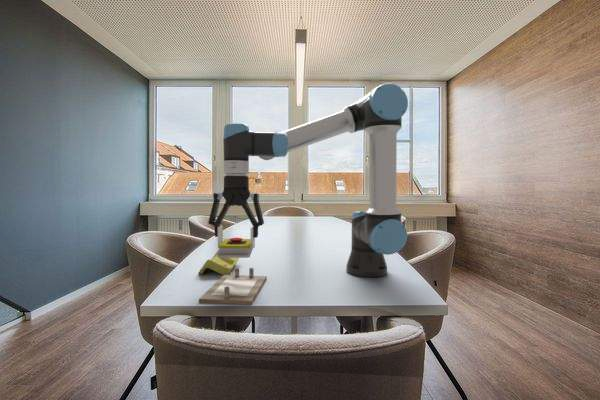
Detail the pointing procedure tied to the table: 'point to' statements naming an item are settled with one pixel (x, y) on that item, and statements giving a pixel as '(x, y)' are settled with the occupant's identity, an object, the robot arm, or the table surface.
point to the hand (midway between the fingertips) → (236, 247)
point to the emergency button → (235, 248)
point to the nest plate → (235, 289)
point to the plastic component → (219, 264)
